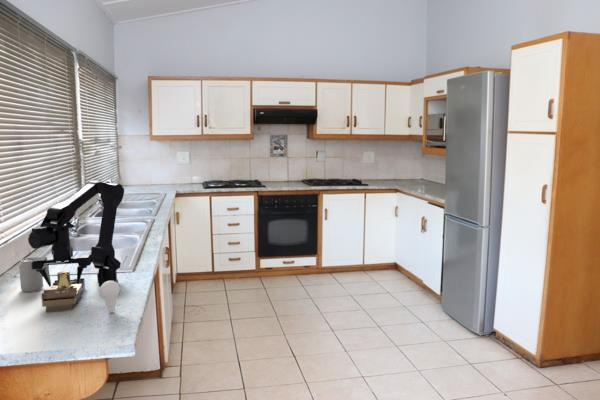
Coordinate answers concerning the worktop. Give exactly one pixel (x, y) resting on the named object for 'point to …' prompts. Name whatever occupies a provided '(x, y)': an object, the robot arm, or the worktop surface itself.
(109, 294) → the lightbulb
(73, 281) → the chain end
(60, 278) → the brass pin
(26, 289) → the can
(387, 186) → the worktop surface
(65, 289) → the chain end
